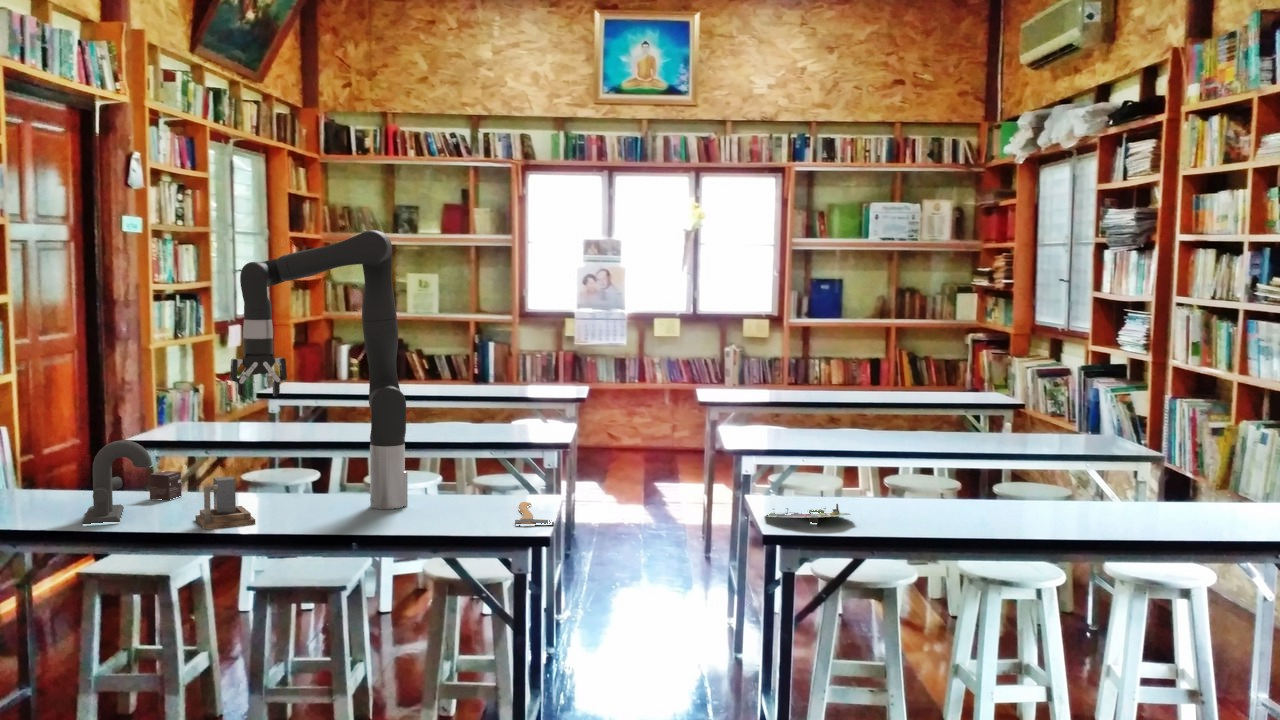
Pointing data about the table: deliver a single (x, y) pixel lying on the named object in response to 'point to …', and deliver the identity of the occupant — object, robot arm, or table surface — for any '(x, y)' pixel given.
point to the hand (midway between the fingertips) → (259, 396)
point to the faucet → (111, 479)
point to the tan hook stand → (528, 516)
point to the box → (165, 485)
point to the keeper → (221, 521)
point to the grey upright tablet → (224, 496)
